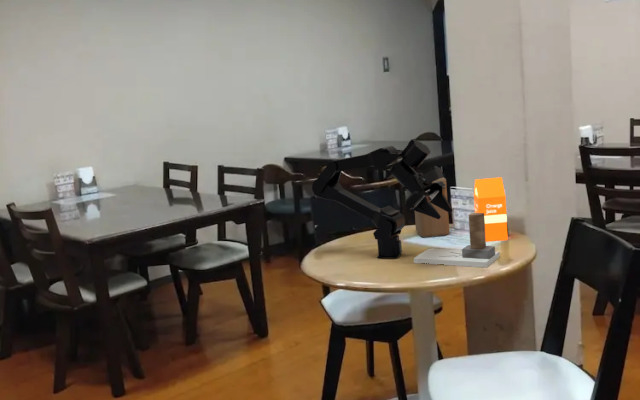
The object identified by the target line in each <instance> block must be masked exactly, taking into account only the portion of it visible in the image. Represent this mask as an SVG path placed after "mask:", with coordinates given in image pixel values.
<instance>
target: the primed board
mask: <svg viewBox="0 0 640 400" xmlns="http://www.w3.org/2000/svg"><path fill="white" fill-rule="evenodd" d="M499 258H500V251H496V250H495V255H494V256H493V257H492V258H490V259H477V258H462V249H456V248H455V249H453V248H452V249H451V248H450V249H449V248H447V249H446V248H433V247H431V248H428V249H426V250H424V251H423V252H421V253H420V254H418V255H417V256H415V257H414V258H413V263H414V264H421V263H425V264H424V265H437V264H444V265H443V266H454V265H455V266H456V267H457V266H459V267H473V268H488V267H490V265H492V264H493V263H494V262H495V261H496V260H498V259H499ZM426 263H427V264H426ZM428 263H429V264H428Z"/></svg>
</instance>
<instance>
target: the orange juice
mask: <svg viewBox="0 0 640 400" xmlns="http://www.w3.org/2000/svg"><path fill="white" fill-rule="evenodd" d="M473 190H474V191H473V203H474V204H473V205H474V206H473V207H474V213H484V220H485V238H486V243H487V242H488V243H489V242H499V241H508V239H509V238H508V235H509V234H508V217H507V215H508V214H507V199H506V198H507V195H506V191H505V187H504V181H503V177H502V176H501V177H490V178H489V177H488V178H477V179H475V180H474V189H473Z"/></svg>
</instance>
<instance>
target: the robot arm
mask: <svg viewBox="0 0 640 400" xmlns="http://www.w3.org/2000/svg"><path fill="white" fill-rule="evenodd" d="M430 154H431V150H430V149H429V147H428V146H427V145H426V144H424V143H422V142H420V141H418V140H417V139H416V138H412V139H410V141H409V142H408V144H407V145H406V147H404V149H397V148H396V147H395V146H394V145H388V146H383V147H380V148H377V149H375V150H372V151H369V152H368V153H365V154H364V153H363V154H361V155H353V156H350V157H344V158H335V159H332V160H330V161H329V162H328V163H327V165H326V166H325V168H324V169H323V170H322V172H321V173H320V174H319V175H318V176H317V178H316V179H315V180H314V181H313V183H312V185H311V190H312V194H313V195H314V196H315V197H317V198H321V199H323V200H327V201H328V200H329V201H334V202H337V203H339V204H341V205H343V206H345V207H346V208H347V209H350V210H352V211H353V212H355V213H358V214H359V215H362V216H363V217H365V218H367V219H369V220H370V221H372V223H373V224H374V226H375V227H376V229H375V230H374V232H373V233H372V234H373V237H374V239H375V240H377V241H376V242H377V250H378V254H377V256H376V258H377V259H398V258H399V256H401V255H402V253H403V249H402V240H401V239H400V236H399V235H400V234H401V232H402V229H404V227H405V225H406V218H405V216H404V215H403V214H402V213H401V210H400V209H399V210H397V209H395V208H394V207H393V206H391V205H387V206H385V207H382V208H380V207H378V206H377V205H375V204H373V203H372V202H369V201H367V200H365V199H364V198H361V197H359V196H358V195H357V194H354V193H352V192H350V191H349V190H346V189H345V188H344V187H343V186H342V184H341V183H340V182H339V181H340V178H341V175H342V171H346V170H347V171H348V170H352V169H358V168H364V167H373V168H374V167H375V168H381V167H382V168H385V167H389V166H391V165H392V166H391V167H390V168H388V169H385V179H386V180H388V179H390V178H393V177H394V179H396V180H397V182H399V184H401V185H402V186H403V187H402V190H403V191H407V192H408V193H409V194H410V195H409V196H408V197H407V198H406V200H405V201H404V204H405V205H404V206H405V207H406V208H407V210H409V211H411V210H412V211H413V212H415V211H417V212H420V213H423V214H426V215H428V216H431V217H433V218H436V219H440V218H441V216H440V214H439V213H438V212H437V210H436V209H435V208H434V207H433V205H432V204H434V205H436V206H438V207H439V208H441V209H443V210H445V211H447V212H448V214H451V213H452V212H453V209H452V206H451V205H450V203H449V201H448V198H447V199H446V197H445V186H446V185H447V184H446V185H445V184H444V183H443V182H442V181H437V182H434V183H432V182H433V181H436V180H438V179H440V178H442V177H443V178H445V177H444V175H443V171H444V170H443V169H442V168H441V167H438V166H437V165H435V166H433V167H431V168H429V171H428V172H426V173H425V174H424V173H423V172H417V171H415V169H414V168H419V167H420V166H421V164H422V163H424V161H425V160H426V159H427V157H428V156H430ZM399 160H400V161H399ZM398 161H399V162H398ZM429 200H430V201H429ZM431 203H432V204H431ZM414 206H415V208H414Z"/></svg>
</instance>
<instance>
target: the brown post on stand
mask: <svg viewBox="0 0 640 400" xmlns="http://www.w3.org/2000/svg"><path fill="white" fill-rule="evenodd" d="M468 226H469V243H470V244H468V245H466V246H465V247H463V248H462V249H461V250H462V258H477V259H490V258H492V257H493V256H494V255H495V251H496V247H495V246H494V245H487V242H486V238H485V220H484V213H475V212H471V213H469V214H468Z"/></svg>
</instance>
